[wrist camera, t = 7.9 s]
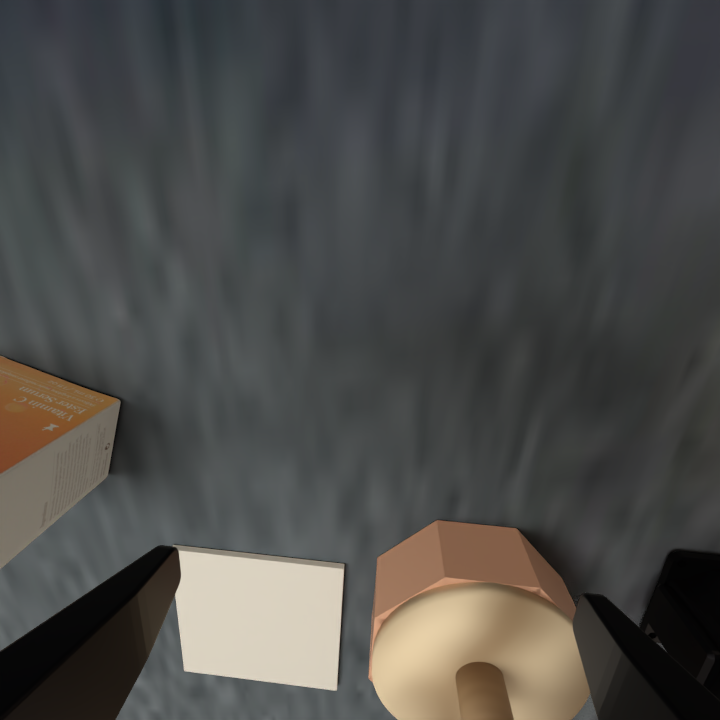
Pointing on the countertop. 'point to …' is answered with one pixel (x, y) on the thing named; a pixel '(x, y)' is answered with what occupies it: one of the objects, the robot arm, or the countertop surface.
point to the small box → (47, 450)
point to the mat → (260, 616)
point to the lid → (478, 656)
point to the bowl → (462, 567)
